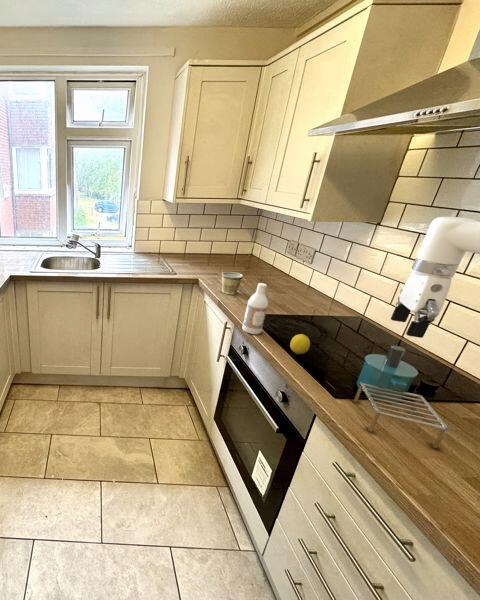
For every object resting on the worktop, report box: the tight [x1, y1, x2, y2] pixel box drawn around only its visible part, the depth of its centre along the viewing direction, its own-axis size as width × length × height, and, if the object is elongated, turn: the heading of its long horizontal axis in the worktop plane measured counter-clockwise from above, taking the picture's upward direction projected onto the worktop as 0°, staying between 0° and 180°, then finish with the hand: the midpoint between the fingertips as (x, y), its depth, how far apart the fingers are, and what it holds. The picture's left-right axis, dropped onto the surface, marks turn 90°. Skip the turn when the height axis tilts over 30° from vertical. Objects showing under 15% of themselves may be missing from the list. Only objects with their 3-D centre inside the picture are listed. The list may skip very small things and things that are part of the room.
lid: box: [364, 345, 419, 379], centre depth 89 cm, size 11×11×7 cm
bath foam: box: [241, 282, 269, 335], centre depth 124 cm, size 7×7×20 cm
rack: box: [352, 383, 451, 449], centre depth 80 cm, size 13×13×6 cm
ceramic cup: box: [221, 271, 248, 296], centre depth 165 cm, size 13×10×10 cm
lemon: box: [289, 333, 311, 355], centre depth 110 cm, size 6×6×8 cm
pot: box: [356, 361, 415, 403], centre depth 92 cm, size 10×16×8 cm, turn 155°
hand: (405, 328), depth 85 cm, fingers open, 9 cm apart
